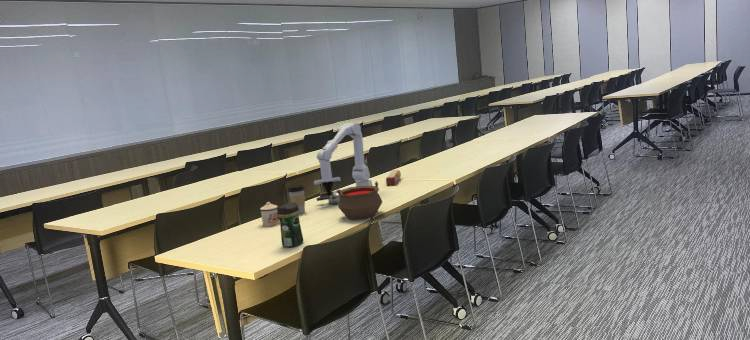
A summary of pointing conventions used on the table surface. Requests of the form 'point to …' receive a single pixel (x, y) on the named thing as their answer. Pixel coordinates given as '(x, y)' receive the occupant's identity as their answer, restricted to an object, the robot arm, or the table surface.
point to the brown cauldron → (359, 202)
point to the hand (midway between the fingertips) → (329, 195)
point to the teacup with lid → (269, 215)
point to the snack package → (393, 178)
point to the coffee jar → (290, 225)
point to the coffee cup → (297, 197)
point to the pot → (330, 200)
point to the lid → (333, 194)
